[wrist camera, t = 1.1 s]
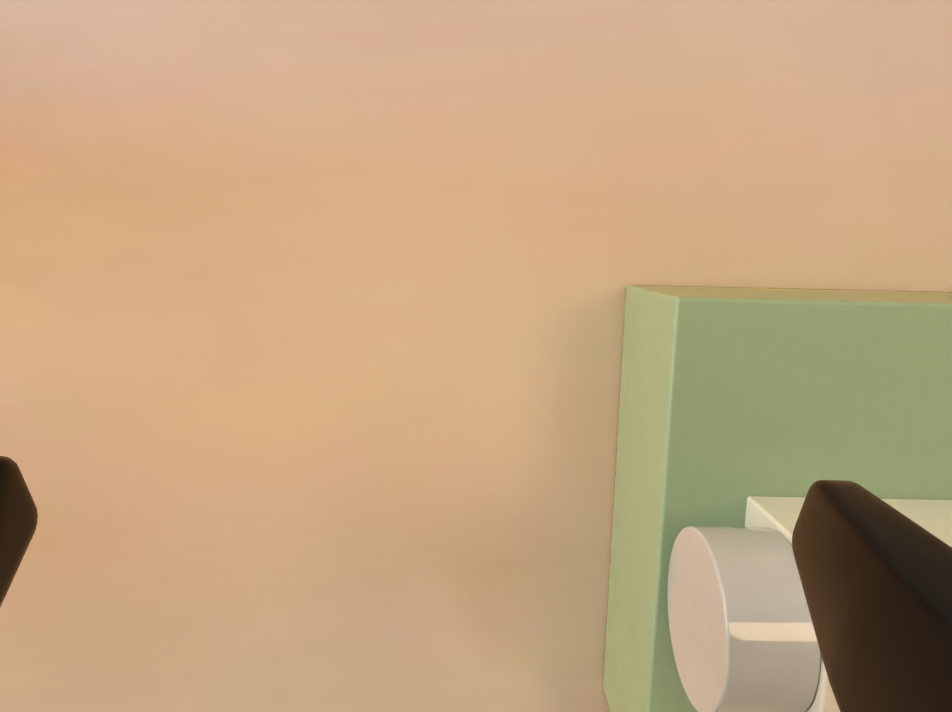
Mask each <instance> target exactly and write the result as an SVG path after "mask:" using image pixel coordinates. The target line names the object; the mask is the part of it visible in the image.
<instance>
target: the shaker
mask: <svg viewBox="0 0 952 712" xmlns="http://www.w3.org/2000/svg"><path fill="white" fill-rule="evenodd" d="M805 498H806V497H761V496H749V497H748V498H747V505H746V516H745V527H727V526H687V527H685V528H683V529H682V530H681V531H680V532H679V534H678V535H677V537H676V540H675V542H674V545H673V548H672V552H671V557H670V563H669V571H668V592H667V597H668V617H669V628H670V635H671V642H672V647H673V653H674V657H675V662H676V666H677V669H678V673H679V676H680V679H681V682H682V685H683V687H684V690H685V692H686V694H687V697H688V699H689V700H690V702H691V704H692V705H693V707H694V708H695V710H696V711H697V712H840V710H839V707H838V705H837V702H836V699H835V696H834V694H833V691H832V688H831V685H830V683H829V679H828V676H827V673H826V670H825V666H824V663H823V660H822V656H821V653H820V649H819V645H818V642H817V638H816V634H815V631H814V627H813V623H812V620H811V616H810V613H809V609H808V605H807V602H806V598H805V594H804V591H803V587H802V583H801V580H800V576H799V573H798V569H797V565H796V562H795V558H794V554H793V549H792V535H793V530H794V527H795V524H796V522H797V519H798V516H799V514H800V511H801V508H802V506H803V503H804V500H805ZM881 500H883V501H884V502H886V503H887V504H889V505H890V506H892V507H893V508H895V509H896V510H897V511H899V512H900V513H902V514H903V515H905V516H906V517H908V518H909V519H911V520H912V521H914V522H915V523H917V524H918V525H919V526H921V527H922V528H924V529H925V530H927V531H928V532H930V533H931V534H933V535H934V536H936V537H937V538H939V539H940V540H942V541H943V542H944V543H946V544H947V545H949V546H950V547H952V500H923V499H881Z"/></svg>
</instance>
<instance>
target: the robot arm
mask: <svg viewBox="0 0 952 712" xmlns="http://www.w3.org/2000/svg"><path fill="white" fill-rule="evenodd" d="M37 517H38V515H37V509H36V506H35V503H34V501H33V499H32V497H31V494H30V492H29V490H28V488H27V485H26V483H25V481H24V478H23V476H22V474H21V472H20V469H19V467H18V466H17V464H16V463H15V462H14V461H13V460H12V459H10V458H7V457H4V456H0V607H1V604H2V602H3V600H4V598H5V596H6V593H7V591H8V589H9V587H10V585H11V582H12V580H13V578H14V576H15V574H16V572H17V569H18V567H19V565H20V563H21V561H22V558H23V556H24V554H25V552H26V550H27V547H28V545H29V543H30V541H31V539H32V537H33V534H34V532H35V529H36V525H37ZM792 549H793V554H794V558H795V562H796V565H797V569H798V573H799V576H800V580H801V583H802V587H803V591H804V594H805V598H806V602H807V605H808V609H809V613H810V616H811V620H812V623H813V627H814V631H815V634H816V638H817V642H818V645H819V649H820V653H821V656H822V660H823V663H824V666H825V670H826V673H827V676H828V679H829V683H830V685H831V688H832V691H833V694H834V696H835V699H836V702H837V705H838V707H839V710H840V712H952V547H950V546H949V545H947V544H946V543H944V542H943V541H942V540H940V539H939V538H937V537H936V536H934V535H933V534H931V533H930V532H928V531H927V530H925V529H924V528H922V527H921V526H919V525H918V524H917V523H915V522H914V521H912V520H911V519H909V518H908V517H906V516H905V515H903V514H902V513H900V512H899V511H897V510H896V509H895V508H893V507H892V506H890V505H889V504H887V503H886V502H884V501H883V500H881V499H880V498H878V497H877V496H875V495H874V494H872V493H871V492H870V491H868V490H867V489H865V488H864V487H862V486H861V485H859V484H857V483H855V482H853V481H847V480H819V481H815V482H814V483H813V484H812V485H811V486H810V488H809V490H808V492H807V495H806V498H805V500H804V503H803V506H802V508H801V511H800V514H799V516H798V519H797V522H796V524H795V527H794V530H793V535H792Z"/></svg>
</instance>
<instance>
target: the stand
mask: <svg viewBox="0 0 952 712" xmlns="http://www.w3.org/2000/svg"><path fill="white" fill-rule="evenodd" d="M819 480H847V481H853V482H855V483H857V484H859V485H861V486H862V487H864V488H865V489H867V490H868V491H870V492H871V493H872V494H874V495H875V496H877V497H878V498H880V499H923V500H952V292H922V291H875V290H831V289H787V288H743V287H699V286H655V285H629V286H627V288H626V302H625V320H624V337H623V354H622V371H621V388H620V405H619V422H618V439H617V456H616V473H615V490H614V507H613V524H612V541H611V558H610V575H609V592H608V610H607V627H606V644H605V661H604V678H603V689H604V693H605V696H606V699H607V703H608V706H609V709H610V712H697V711H696V710H695V708H694V707H693V705H692V704H691V702H690V700H689V699H688V697H687V694H686V692H685V690H684V687H683V685H682V682H681V679H680V676H679V673H678V669H677V666H676V662H675V657H674V653H673V647H672V642H671V635H670V628H669V617H668V597H667V592H668V571H669V563H670V557H671V552H672V548H673V545H674V542H675V540H676V537H677V535H678V534H679V532H680V531H681V530H682V529H683V528H685V527H687V526H727V527H745V516H746V505H747V498H748V497H749V496H761V497H806V495H807V492H808V490H809V488H810V486H811V485H812V484H813V483H814V482H815V481H819Z"/></svg>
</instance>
